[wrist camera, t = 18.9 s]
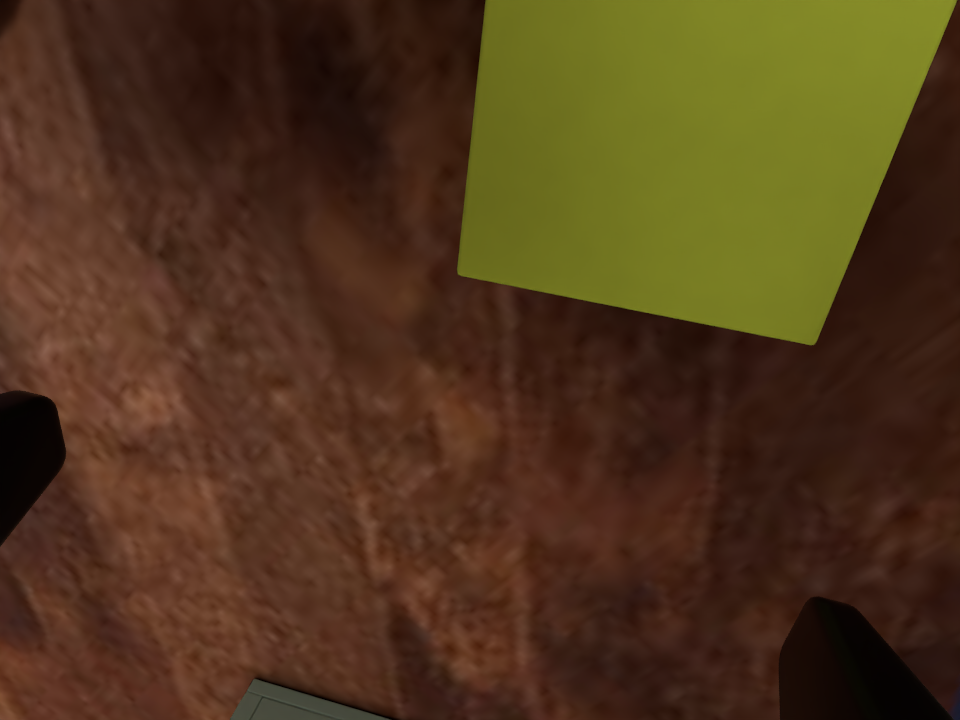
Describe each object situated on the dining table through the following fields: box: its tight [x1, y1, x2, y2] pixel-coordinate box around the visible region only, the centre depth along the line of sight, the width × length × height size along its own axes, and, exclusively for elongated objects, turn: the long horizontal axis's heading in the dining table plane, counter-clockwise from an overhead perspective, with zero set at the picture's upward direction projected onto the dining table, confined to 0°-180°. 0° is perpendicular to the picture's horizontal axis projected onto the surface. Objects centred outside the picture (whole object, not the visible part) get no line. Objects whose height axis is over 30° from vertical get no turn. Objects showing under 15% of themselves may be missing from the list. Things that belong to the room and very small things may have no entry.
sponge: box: [457, 0, 957, 345], centre depth 9 cm, size 5×7×4 cm
